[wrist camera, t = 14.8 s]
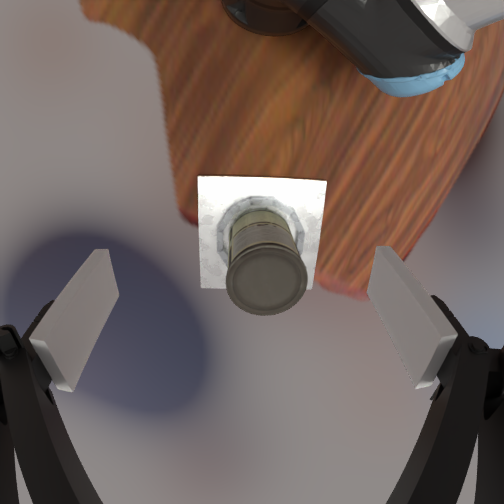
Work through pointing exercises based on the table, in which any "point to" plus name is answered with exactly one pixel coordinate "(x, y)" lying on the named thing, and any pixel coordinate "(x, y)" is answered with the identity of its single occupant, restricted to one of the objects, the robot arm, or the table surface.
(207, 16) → the table surface
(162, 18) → the table surface
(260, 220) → the coffee can
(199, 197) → the duct collar
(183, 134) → the table surface
